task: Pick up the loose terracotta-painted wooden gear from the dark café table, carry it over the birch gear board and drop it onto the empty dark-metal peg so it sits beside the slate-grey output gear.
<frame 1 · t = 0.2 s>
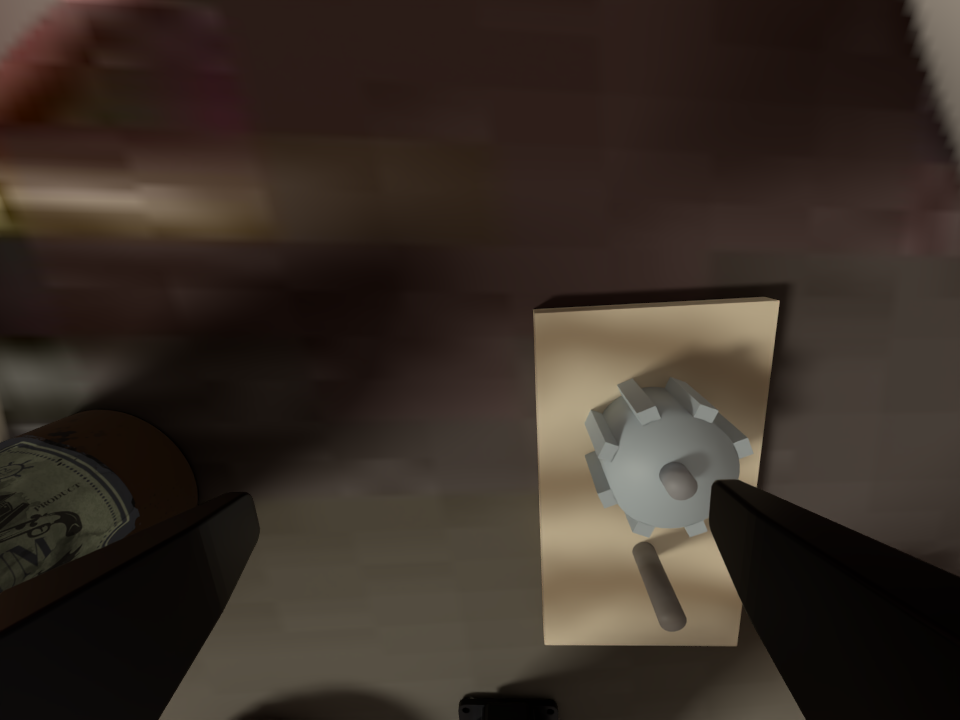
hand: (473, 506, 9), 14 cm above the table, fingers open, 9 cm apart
output gear: (648, 437, 22), resting on gear board
gear board: (639, 484, 24), on the table
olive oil: (128, 478, 27), on the table
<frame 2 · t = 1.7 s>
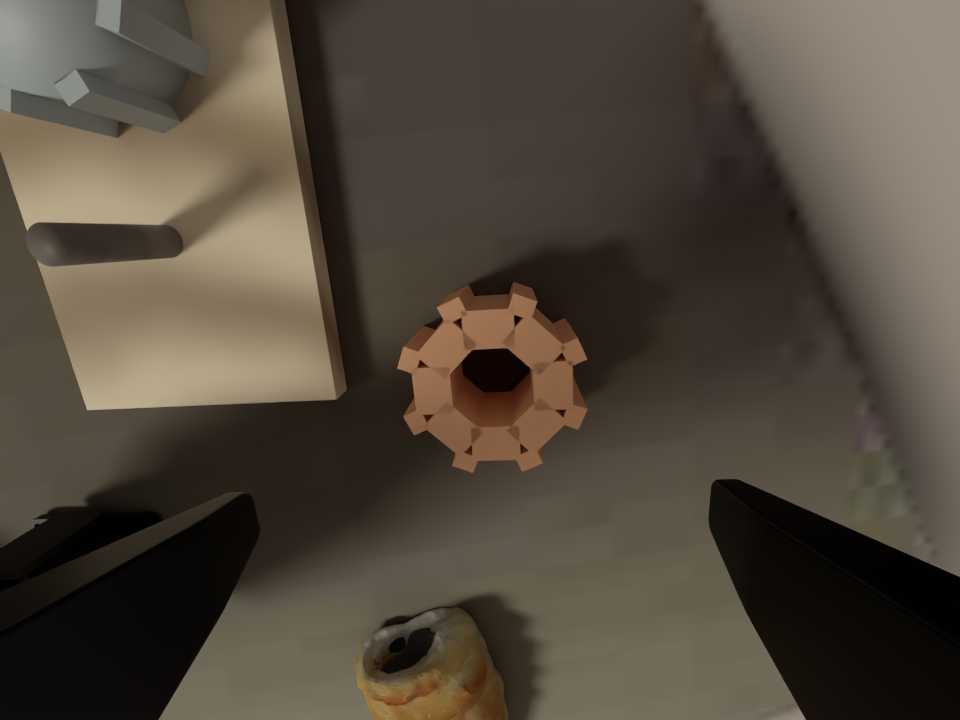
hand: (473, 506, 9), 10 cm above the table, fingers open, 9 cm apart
output gear: (114, 31, 15), resting on gear board
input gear: (495, 360, 18), on the table
gear board: (167, 148, 17), on the table
pastry: (445, 661, 24), on the table
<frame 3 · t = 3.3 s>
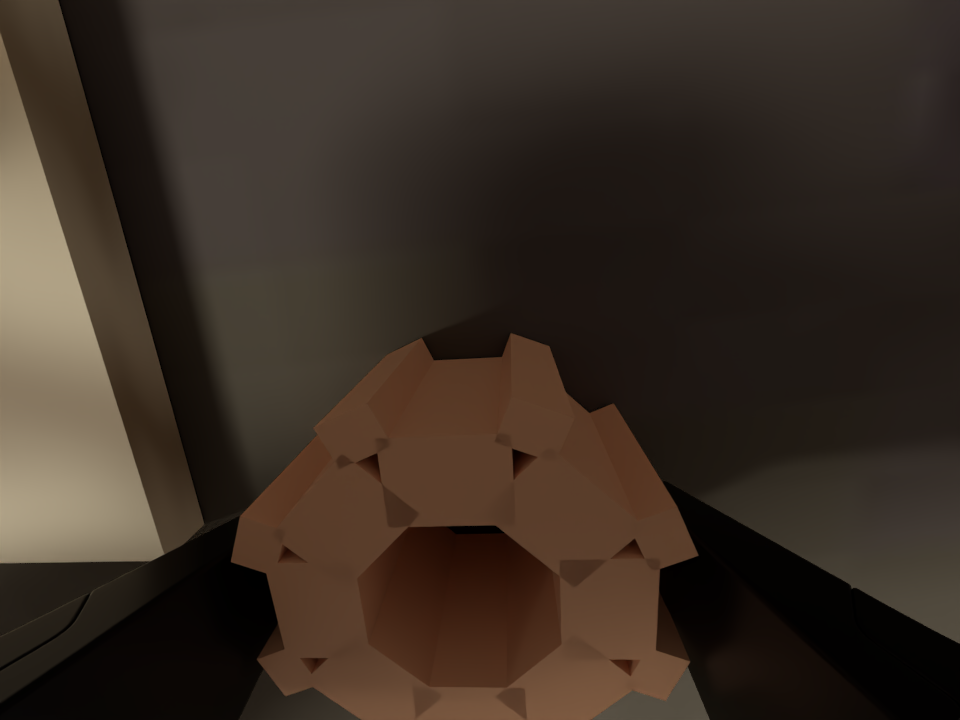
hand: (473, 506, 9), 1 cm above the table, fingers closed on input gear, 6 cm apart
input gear: (477, 478, 10), on the table, touching gripper
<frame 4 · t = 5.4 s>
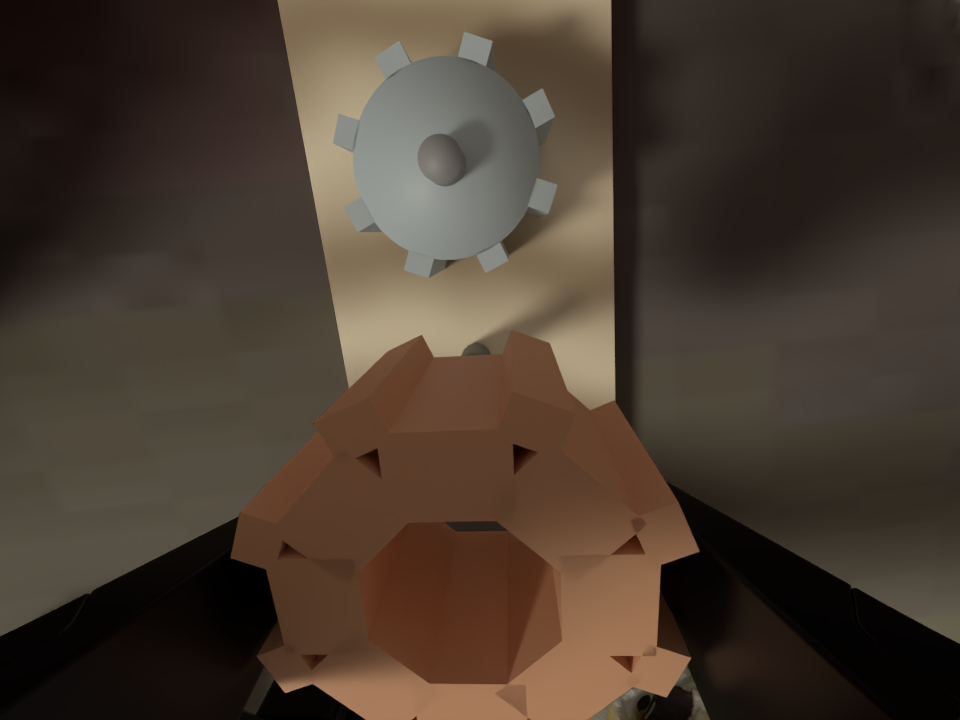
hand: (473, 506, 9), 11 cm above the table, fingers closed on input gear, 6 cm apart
output gear: (458, 178, 16), resting on gear board
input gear: (477, 475, 10), point 10 cm above the table, touching gripper
gear board: (470, 270, 18), on the table
pastry: (676, 712, 25), on the table
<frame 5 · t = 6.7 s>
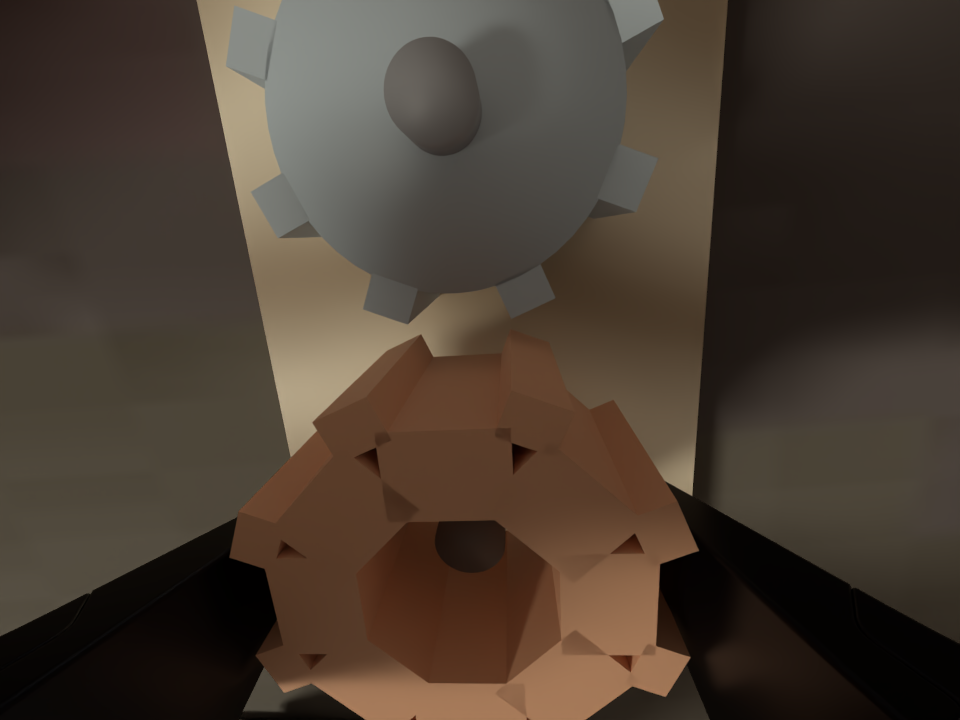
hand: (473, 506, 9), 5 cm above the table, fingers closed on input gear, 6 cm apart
output gear: (464, 152, 10), resting on gear board
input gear: (476, 475, 10), point 4 cm above the table, touching gripper
gear board: (478, 296, 12), on the table
when the fingers open (4 cm above the table, at t = 7.6 s): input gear drops 2 cm, resting on gear board.
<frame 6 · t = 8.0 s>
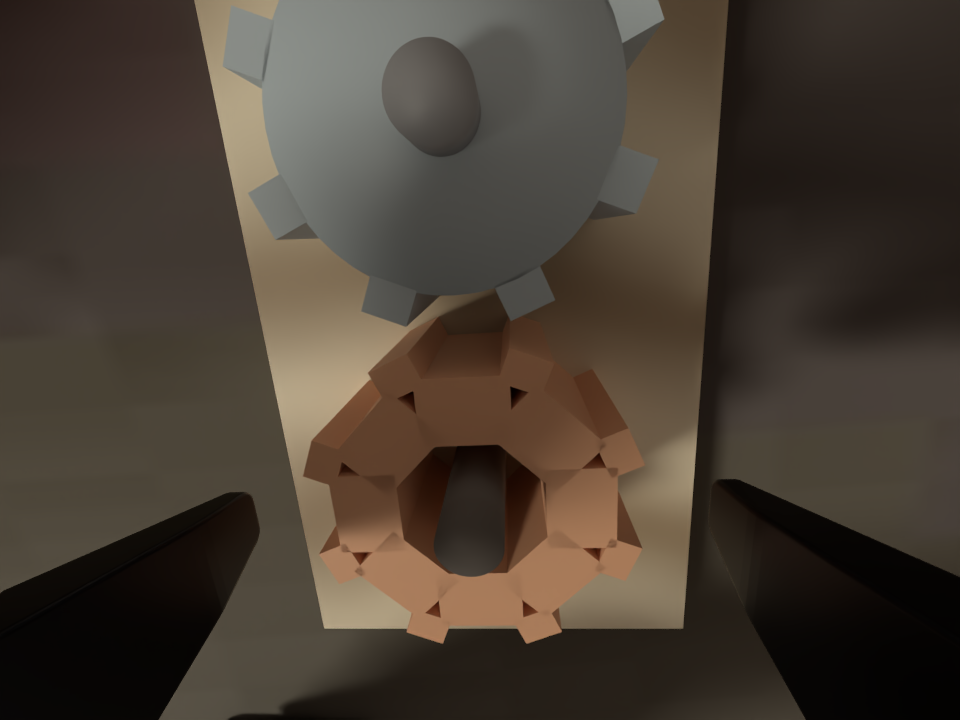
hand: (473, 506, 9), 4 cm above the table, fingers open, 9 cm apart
output gear: (463, 153, 10), resting on gear board
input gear: (482, 432, 12), point 1 cm above the table, touching gear board
gear board: (477, 297, 12), on the table
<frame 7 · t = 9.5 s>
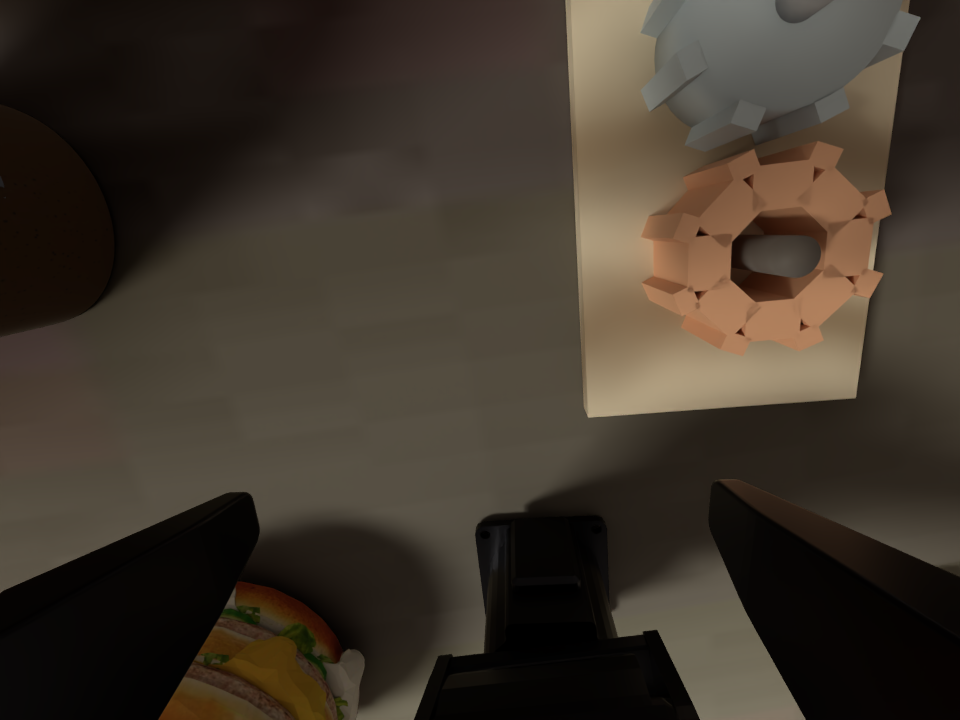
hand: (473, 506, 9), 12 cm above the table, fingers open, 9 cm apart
output gear: (734, 48, 15), resting on gear board
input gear: (725, 251, 17), point 1 cm above the table, touching gear board
gear board: (715, 160, 17), on the table
burger: (262, 646, 26), on the table
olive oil: (23, 220, 20), on the table
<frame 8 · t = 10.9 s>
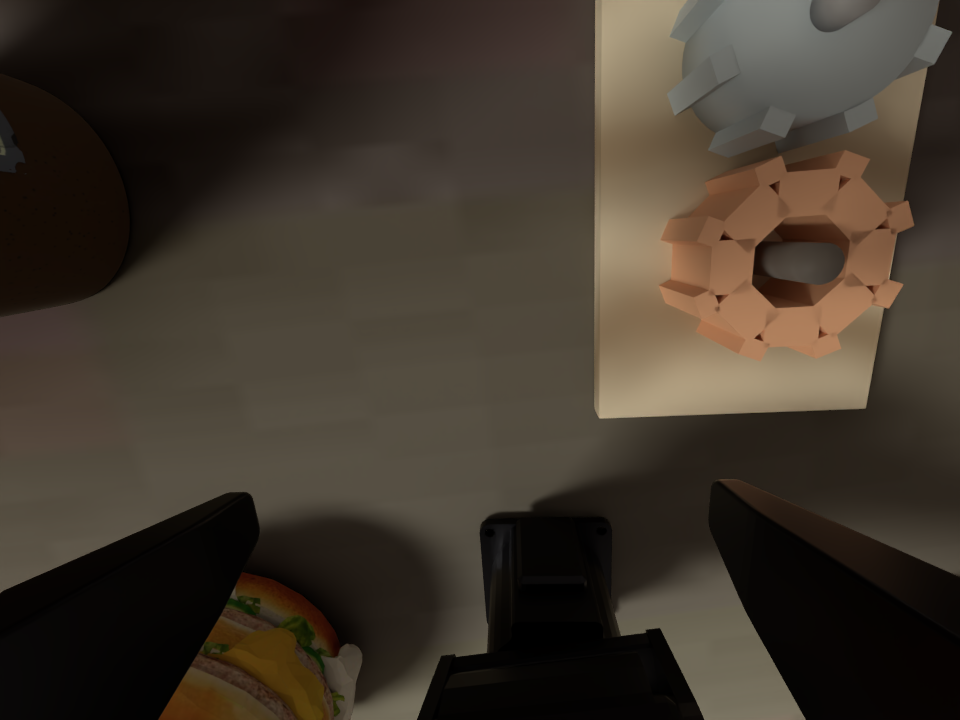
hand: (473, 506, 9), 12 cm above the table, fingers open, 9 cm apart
output gear: (762, 56, 15), resting on gear board
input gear: (743, 257, 17), point 1 cm above the table, touching gear board
gear board: (736, 166, 17), on the table
burger: (259, 638, 26), on the table
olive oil: (37, 199, 20), on the table
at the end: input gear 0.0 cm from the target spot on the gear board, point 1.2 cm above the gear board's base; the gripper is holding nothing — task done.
